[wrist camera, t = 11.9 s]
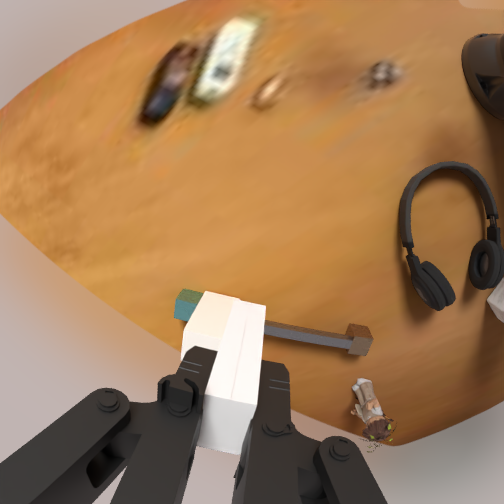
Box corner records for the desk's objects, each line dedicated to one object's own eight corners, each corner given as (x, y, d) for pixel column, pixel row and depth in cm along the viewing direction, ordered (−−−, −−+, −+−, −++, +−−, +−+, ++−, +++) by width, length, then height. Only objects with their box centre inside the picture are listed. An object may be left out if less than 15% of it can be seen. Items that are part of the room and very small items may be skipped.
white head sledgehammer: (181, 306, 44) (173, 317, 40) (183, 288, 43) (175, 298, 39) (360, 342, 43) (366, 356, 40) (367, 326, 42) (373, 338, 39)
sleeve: (201, 317, 43) (180, 360, 33) (205, 290, 42) (183, 329, 32) (234, 325, 43) (222, 370, 33) (239, 298, 42) (228, 340, 32)
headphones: (427, 325, 33) (396, 171, 32) (408, 309, 41) (379, 178, 39) (515, 285, 31) (492, 150, 29) (489, 276, 38) (467, 157, 37)
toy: (357, 368, 45) (379, 433, 30) (382, 376, 45) (408, 438, 31) (337, 393, 46) (351, 459, 32) (362, 400, 47) (380, 463, 32)
